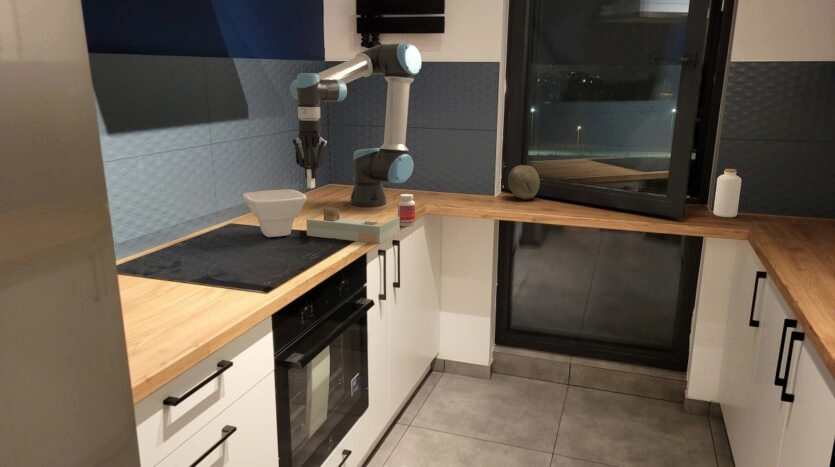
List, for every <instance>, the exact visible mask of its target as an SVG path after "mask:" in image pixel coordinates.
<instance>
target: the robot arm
mask: <svg viewBox="0 0 835 467" xmlns="http://www.w3.org/2000/svg"><path fill="white" fill-rule="evenodd" d="M420 53H421V52H420V51H419V49H418V48H417V47H416V46H415V45H413V43H412V44H411V43H406V42H404V43H403V42H400V43H383V44H378V45H375V46H373V47H370V48H368V49H366V50H363V51H360V52H359V53H356V55H355V56H354V58H351V59H349V60H346V61H344V62H342V63H340V64H338V65H334V66H333V67H330V68H328V69H325V70H322V71H320V72H318V73H317V72H316V73H315V72H314V73H313V72H310V73H309V72H305V73H304V72H301V73H298V74H297V78H296V79H294V80H293V81H292V82H291V83H290V86H289V92H290V94H291V97H292V98H293V99H295V100H296V101H297V113H298V114H297V116H298V123H297V124H298V126H297V127H298V132H299V133H298V134H297V135H298V136H297V137H295V139H292V143H293V146H294V147H295V150H296V156H297V159H298V160H297V161H298V163H299V167H300V168H303V169H304V177H305V179H307V180H306V181H307V182H306V183H307V184H306V186H307V189H314V188H316V179H317V177H318V176H317V175H318V174H317V172H318V169H319V168H322V167H323V161H324V155H325V149H326V147H327V144H328V140H325V139H324V138H322V135H321V123H322V122H321V120H320V119H321V102H336V103H337V102H342V101H344V100H345V98H347V95H348V88H347V84H348V83H351V82H353V81H354V80H357V79H361V77H363V78H368V77H370V76H374V75H384V79H385V81H386V82H387V91H386V92H387V95H386V106H385V108H386V109H385V121H384V122H385V124H384V133H383V134H384V136H383V144H382V145H381V146H379V147H375V148H374V147H373V148H362V149H357V150H355V151H354V153H353V181H354V182H353V183H354V184H353V185H354V186H353V189H352V191H351V196H350V198H349V200H350V205H351V206H354V207H362V208H363V207H365V208H369V207H370V208H371V207H372V208H373V207H380V206H384V205H386V204H387V196H386V194H385V190H384V186H383V182H388V183H391V184H403V183H405V182H407V180H408V179H409V178H410V177H411V175H412V173H413V171H414V167H415V166H414V165H415V164H414V161H413V158H412V157H411V155H410V154H409V149H408V147H407V145H406V137H407V127H408V125H407V124H408V115H409V114H408V113H409V100H410V87H411V84H412V83H413V82H414V80H415V75H417V74H418V73H420V70H421V68H422V56H421V54H420Z"/></svg>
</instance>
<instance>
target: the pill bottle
mask: <svg viewBox="0 0 835 467" xmlns="http://www.w3.org/2000/svg"><path fill="white" fill-rule="evenodd" d="M399 199H400V200H399V201H398V202H397V217H400V227H406V228H407V227H408V228H409V227H414V226H415V225H416V202H415V201H414V194H411V193H402V194H400V195H399Z"/></svg>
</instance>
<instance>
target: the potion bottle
mask: <svg viewBox="0 0 835 467" xmlns="http://www.w3.org/2000/svg"><path fill="white" fill-rule="evenodd" d="M723 173H724V174H720V175H719V176H718V177H717V179H716V189H715V196H714V203H713V204H714V205H713V214H714V216H716V217H721V218H735V217H736V216H737V215H738V210H739V203H740V202H739V201H740V194H741V188H742V178H741V177H740V176H738V175H737V174H738V173H737V169H735V168H724V171H723Z"/></svg>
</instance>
